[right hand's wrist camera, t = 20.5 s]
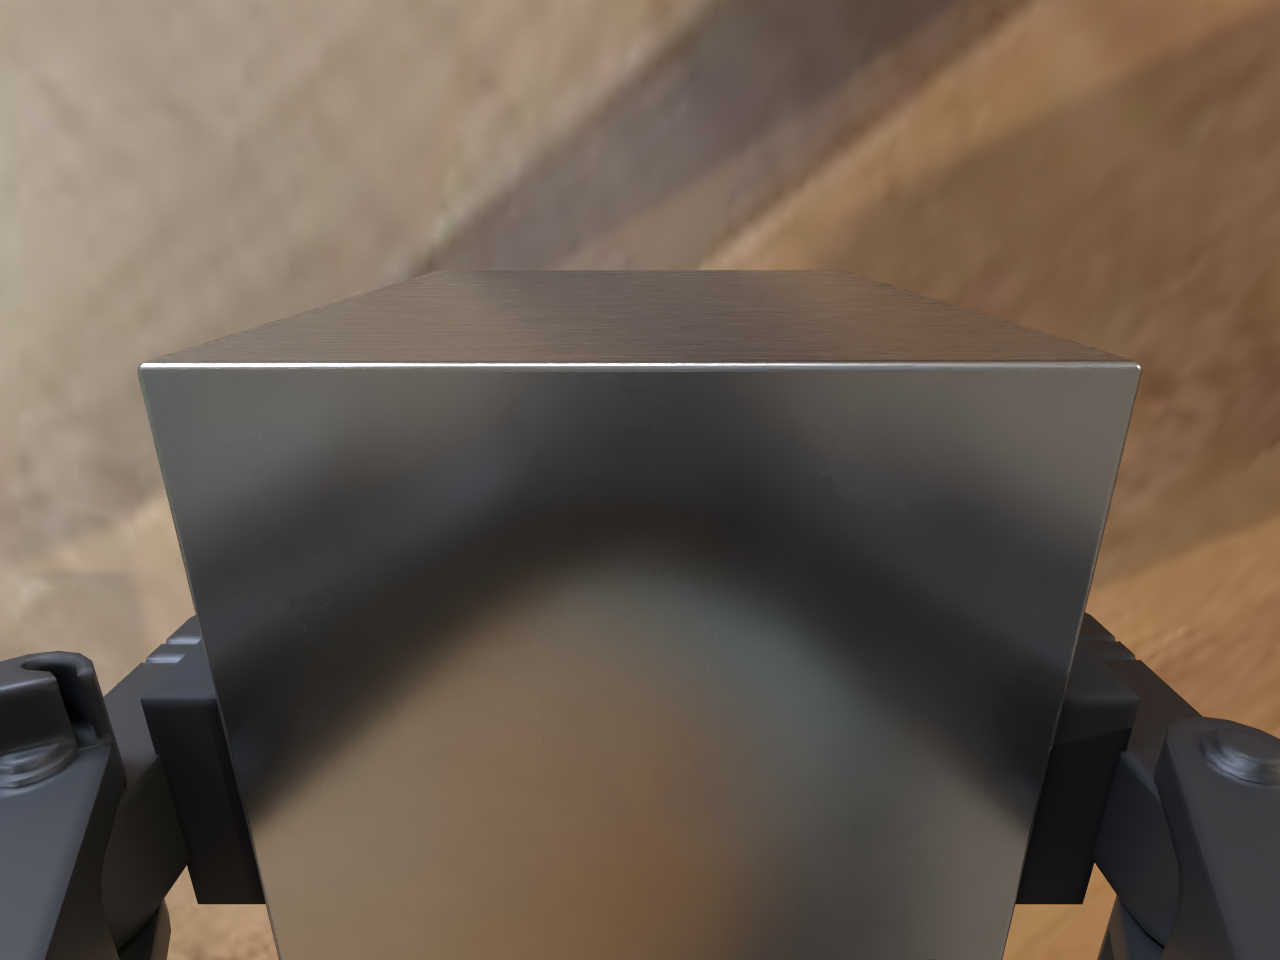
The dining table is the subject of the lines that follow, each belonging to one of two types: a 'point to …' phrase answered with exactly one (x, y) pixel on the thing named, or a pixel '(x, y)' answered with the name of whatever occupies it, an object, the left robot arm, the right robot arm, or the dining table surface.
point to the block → (640, 609)
